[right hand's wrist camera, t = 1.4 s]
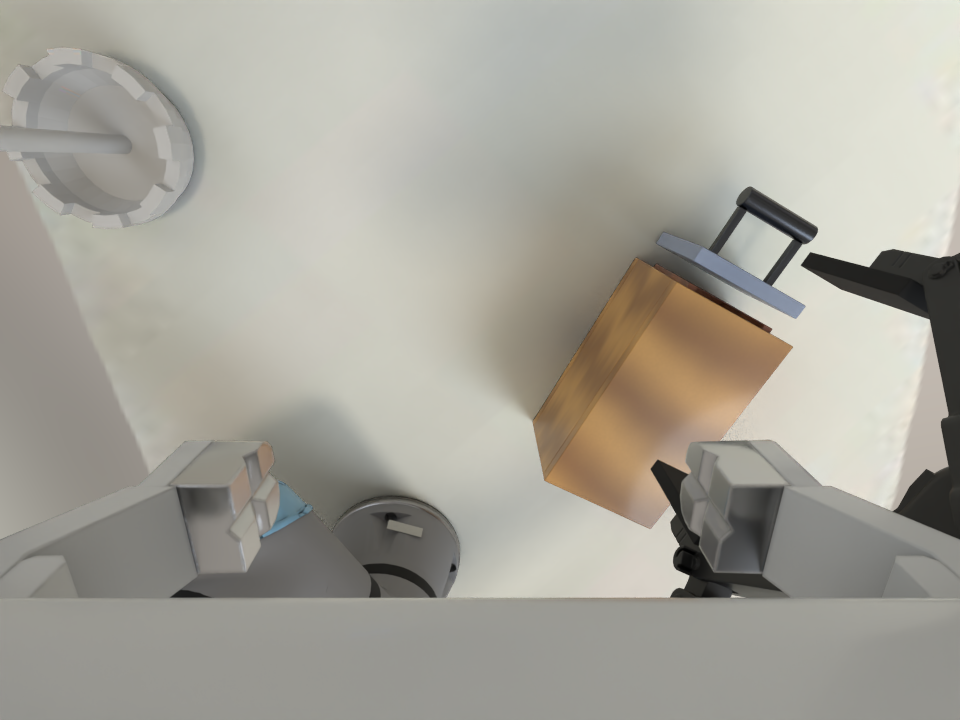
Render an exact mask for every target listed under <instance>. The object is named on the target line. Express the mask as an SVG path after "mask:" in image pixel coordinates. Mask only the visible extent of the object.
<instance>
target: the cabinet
mask: <svg viewBox="0 0 960 720" xmlns="http://www.w3.org/2000/svg"><path fill="white" fill-rule="evenodd" d="M792 348H793V346H791V345H789V344H788V343H786V342H784V341H783V340H781V339H779V338H777V337H776V336H774V335H772V334H771V333H768V332H766V331H764V330H763V329H761V328H759V327H757V326H755V325H754V324H752V323H750V322H748V321H746V320H745V319H743V318H741V317H739V316H737V315H736V314H734V313H732V312H730V311H728V310H727V309H725V308H723V307H721V306H719V305H718V304H716V303H714V302H712V301H711V300H709V299H707V298H705V297H703V296H702V295H700V294H698V293H696V292H694V291H693V290H691V289H689V288H687V287H685V286H684V285H682V284H680V283H679V282H677V281H675V280H674V279H672V278H670V277H669V276H667V275H665V274H664V273H662V272H660V271H659V270H657V269H655V268H654V267H653V266H651V265H649V264H647V263H645V262H644V261H642V260H640V259H638V258H635V259H634V261H633V262H632V264H631V266H630V267H629V269H628V270H627V272H626V274H625V275H624V277H623V278H622V280H621V282H620V283H619V285H618V286H617V288H616V290H615V291H614V293H613V294H612V296H611V298H610V299H609V301H608V302H607V304H606V306H605V307H604V309H603V310H602V312H601V313H600V315H599V317H598V318H597V320H596V321H595V323H594V325H593V326H592V328H591V329H590V331H589V333H588V334H587V336H586V337H585V339H584V341H583V342H582V344H581V345H580V347H579V349H578V350H577V352H576V353H575V355H574V357H573V358H572V360H571V361H570V363H569V364H568V366H567V368H566V369H565V371H564V372H563V374H562V376H561V377H560V379H559V380H558V382H557V384H556V385H555V387H554V388H553V390H552V392H551V393H550V395H549V396H548V398H547V400H546V401H545V403H544V404H543V406H542V408H541V409H540V411H539V412H538V414H537V415H536V417H535V419H534V420H533V426H534V431H535V436H536V441H537V446H538V451H539V456H540V461H541V466H542V471H543V476H544V480H545V481H546V482H549V483H551V484H553V485H555V486H557V487H559V488H562V489H564V490H566V491H568V492H570V493H573V494H575V495H577V496H579V497H581V498H584V499H586V500H588V501H590V502H592V503H594V504H597V505H599V506H601V507H603V508H605V509H608V510H610V511H612V512H614V513H616V514H619V515H621V516H623V517H625V518H627V519H630V520H632V521H634V522H636V523H638V524H640V525H643V526H645V527H647V528H649V529H651V528H652V527H653V525H654V524H655V523H656V522H657V520H658V519H659V518H660V517H661V515H662V514H663V513H664V511H665V510H666V509H667V508H668V506H669V505H670V502H669V500H668V499H667V497H666V495H665V494H664V492H663V490H662V488H661V487H660V485H659V483H658V481H657V480H656V478H655V476H654V475H653V473H652V471H651V467H652V466H653V465H654V463H655V462H656V461H657V459H658V460H660V461H662V462H664V463H666V464H668V465H670V466H672V467H675V468H677V469H679V470H681V471H683V472H685V473H687V474H689V473H690V472H691V470H690V469H689V467H688V465H687V464H686V462H685V459H686V453H687V449H688V447H689V445H690V443H691V442H702V441H720V440H721V439H722V437H723V436H724V435H725V433H726V432H727V431H728V430H729V428H730V427H731V426H732V424H733V423H734V422H735V421H736V419H737V418H738V417H739V416H740V414H741V413H742V412H743V410H744V409H745V408H746V407H747V405H748V404H749V403H750V401H751V400H752V399H753V398H754V396H755V395H756V394H757V393H758V391H759V390H760V389H761V387H762V386H763V385H764V384H765V382H766V381H767V380H768V378H769V377H770V376H771V375H772V373H773V372H774V371H775V370H776V368H777V367H778V366H779V364H780V363H781V362H782V361H783V359H784V358H785V357H786V355H787V354H788V353H789V352H790V350H791V349H792Z"/></svg>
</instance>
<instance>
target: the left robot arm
mask: <svg viewBox="0 0 960 720" xmlns="http://www.w3.org/2000/svg"><path fill="white" fill-rule="evenodd" d="M801 266H802V267H804V268H806V269H808V270H809V271H811V272H813V273H814V274H816V275H818V276H819V277H821V278H823V279H824V280H826V281H828V282H829V283H831V284H833V285H834V286H836V287H838V288H840V289H841V290H844V291H847V292H850V293H853V294H856V295H859V296H862V297H865V298H868V299H871V300H874V301H877V302H880V303H883V304H886V305H889V306H892V307H894V308H897V309H900V310H903V311H906V312H909V313H912V314H915V315H918V316H921V317H924V318H927V319H930V323H931V328H932V333H933V338H934V343H935V348H936V353H937V358H938V363H939V367H940V372H941V377H942V382H943V387H944V392H945V397H946V402H947V407H948V412H949V416H948V417H947V418H944V419H942V421H941V428H942V434H943V439H944V444H945V450H946V455H947V460H948V465H949V467H946V468H944V469H941V470H939V471H938V472H936V473H933V472H931V471H929V470H927V469H926V470H925V471H924V472H923V473H922V474H921V475H920V476H919V477H918V478H917V479H916V480H915V482H914V483H913V484H912V485H911V486H910V487H909V489H908V491H907V493H906V494H905V496H904V498H903V500H902V501H901V503H900V505H899V507H898V508H897V509H896V510H894V511H892V512H895V513H897V514H899V515H902V516H904V517H907V518H909V519H911V520H914V521H916V522H919V523H921V524H923V525H926V526H928V527H931V528H933V529H935V530H938V531H940V532H943V533H945V534H947V535H950V536H952V537H955V538H957V539H959V540H960V253H959V254H957V255H955V256H952V257H950V256H948V257H942V258H935V257H930V256H925V255H920V254H915V253H910V252H904V251H900V250H895V249H892V250H887V251H882V252H881V253H880V254H879V256H878V257H877V258H876V260H875V261H874V262H873V263H872V265H871V266H870V267H865V266H861V265H857V264H854V263H850V262H846V261H842V260H838V259H834V258H830V257H827V256H823V255H819V254H815V253H811V252H810V253H809V255H808V256H807V258H806V259H805V260H804V262H803V263H802V264H801ZM651 471H652V473H653V475H654V476H655V478H656V480H657V481H658V483H659V485H660V487H661V488H662V490H663V492H664V494H665V495H666V497H667V499H668V500H669V502H670V504H671V506H672V507H673V509H674V511H675V513H676V515H675V517H674V518H673V519H672V520H671V522H670V523H671V530H672V532H673V534H674V536H675V538H676V540H677V542H678V543H679V545H680V547H679V548H678V549H677V550H676V551H675V554H674V557H673V564H674V567H675V568H676V570H678V571H680V572H683V573H685V574H687V575H690V576H689V579H688V582H687V584H686V586H685V588H684V589H681V588H678V589H676V590H674V591H673V593H672V595H671V597H670V598H730V597H731V595H735V596H741V597H746V598H791V597H789V596H788V595H787V594H785V593H784V592H783V591H781V590H780V589H779V588H777V587H776V586H775V585H773V584H772V583H771V582H769V581H768V580H767V579H765V578H764V577H763V576H762V574H748V573H714V572H713V570H712V568H711V567H710V565H709V563H708V561H707V560H706V558H705V556H704V554H703V553H702V551H701V549H700V548H699V542H700V536H698V535H697V534H695V533H694V532H692V531H690V530H689V528H688V526H687V524H686V523H685V521H684V518H683V515H682V511H681V503H680V491H681V484H682V481H683V480H684V479H685V478H686V476H687V475H688V474H687V473H685V472H683V471H681V470H679V469H677V468H675V467H672V466H670V465H668V464H666V463H664V462H662V461H660V460H658V459H657V461H656V462H655V463H654V465H653V466H652V467H651ZM277 481H278V483H279V490H280V506H279V510H278V514H277V518H276V521H275V523H274V524H273V526H272V528H271V530H270V531H268V532H266V533H265V534H263V535H262V536H260V542H261V548H260V549H259V551H258V553H257V555H256V556H255V558H254V560H253V561H252V563H251V565H250V567H249V568H248V570H247V572H246V573H212V574H197V575H198V576H197V577H196V578H195V579H193V580H192V581H191V582H189V583H188V584H187V585H186V586H184V587H183V588H182V589H180V590H179V591H178V592H176V593H175V594H174V595H172V596H171V597H170V598H446V597H447V595H448V593H449V591H450V589H451V587H452V585H453V583H454V581H455V579H456V576H457V572H458V568H459V561H460V545H459V540H458V537H457V534H456V532H455V530H454V528H453V527H452V525H451V524H450V522H449V521H448V520H447V519H446V518H445V517H444V516H443V515H442V514H441V513H440V512H438V511H437V510H436V509H434V508H432V507H431V506H429V505H427V504H425V503H423V502H420V501H417V500H414V499H411V498H406V497H399V496H384V497H377V498H372V499H369V500H366V501H363V502H361V503H359V504H357V505H355V506H353V507H352V508H350V509H349V510H348V511H346V512H345V513H344V514H343V515H342V516H341V518H340V519H339V520H338V522H337V523H336V525H335V527H334V529H333V531H332V532H331V530H330V529H329V528H328V527H327V526H326V525H325V524H324V523H323V522H322V520H321V519H320V518H319V517H318V516H317V515H316V514H315V513H314V512H313V510H312V509H313V507H312V506H311V505H310V504H306V503H305V502H304V501H303V500H302V499H301V498H300V497H299V496H298V495H297V494H296V493H295V492H294V491H293V490H292V489H291V488H290V487H289V486H288V485H286V484H285V483H283V482H281V481H279V480H277Z"/></svg>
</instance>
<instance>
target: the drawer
mask: <svg viewBox="0 0 960 720" xmlns="http://www.w3.org/2000/svg"><path fill="white" fill-rule="evenodd" d="M736 204H737V206H739V207H737V208H736V210H735V211H734V213H733V214H732V216H731V217H730V219H729V220H728V222H727V223H726V225H725V226H724V228H723V229H722V231H721V232H720V234H719V235H718V237H717V238H716V240H715V241H714V243H713V244H712V246H711V247H710V249H709V250H708V249H706V248H704V247H702V246H700V245H697V244H694V243H692V242H689V241H686V240H684V239H681V238H679V237H676V236H673V235H671V234H668V233H665V232H663V233H662V235H661V236H660V238H659V239H658V241H657V243H656V244H658V245H659V246H661V247H663V248H665V249H666V250H668V251H670V252H672V253H673V254H675V255H677V256H679V257H680V258H682V259H684V260H686V261H688V262H689V263H691V264H693V265H695V266H696V267H698V268H700V269H702V270H703V271H705V272H707V273H709V274H710V275H712V276H714V277H716V278H717V279H719V280H721V281H723V282H725V283H726V284H728V285H730V286H732V287H733V288H735V289H737V290H739V291H740V292H742V293H744V294H746V295H748V296H750V297H752V298H754V299H756V300H758V301H760V302H762V303H764V304H766V305H769V306H771V307H773V308H775V309H777V310H779V311H781V312H783V313H785V314H787V315H789V316H791V317H793V318H795V319H796V318H797V317H798V316H799V314H800V313H801V312H802V310H803V309H804V308H805V305H803V304H802V303H800V302H798V301H796V300H795V299H793V298H791V297H789V296H788V295H786V294H784V293H783V292H781V291H779V290H777V289H776V288H774V287H772V285H773V284H774V282H775V281H776V279H777V278H778V277H779V275H780V274H781V273H782V271H783V270H784V269H785V267H786V266H787V264H788V263H789V262H790V260H791V259H792V258H793V256H794V255H795V254H796V252H797V251H798V249H799V248H800V247H801V245H802V244H807V243H809V242H810V241H812V240H813V239H814V237H815V236H816V234H817V232H818V228H817V227H816V226H815V225H813V224H812V223H810V222H808V221H807V220H805V219H803V218H802V217H800V216H798V215H797V214H795V213H794V212H792V211H790V210H789V209H787V208H785V207H784V206H782V205H780V204H779V203H777V202H776V201H774V200H772V199H771V198H769V197H767V196H766V195H764V194H762V193H761V192H759V191H758V190H756V189H754V188H753V187H747V188H746V189H745V190H743V191H742V193H741V194H740V195H739V197H738V199H737V201H736ZM746 212H749V213H751V214H752V215H754V216H756V217H757V218H759V219H761V220H762V221H764V222H766V223H767V224H769V225H771V226H772V227H774V228H776V229H777V230H779V231H781V232H782V233H784V234H785V235H787V236H789V237H790V238H792V239H794V240H792V242H791V243H790V244H789V246H788V247H787V248H786V250H785V251H784V253H783V254H782V255H781V257H780V258H779V259H778V261H777V262H776V264H775V265H774V266H773V268H772V269H771V270H770V272H769V273H768V275H767V276H766V277H765V279H764V280H763V281H762V280H760V279H758V278H757V277H755V276H753V275H751V274H750V273H748V272H746V271H744V270H743V269H741V268H739V267H737V266H736V265H734V264H732V263H730V262H729V261H727V260H725V259H724V258H722V257H720V256H718V255H717V254H718V253H719V251H720V250H721V248H722V247H723V245H724V244H725V242H726V241H727V239H728V238H729V236H730V235H731V234H732V232H733V231H734V229H735V228H736V226H737V225H738V223H739V222H740V220H741V219H742V217H743V216H744V214H745V213H746ZM654 268H655V269H657V270H659V271H660V272H662V273H664V274H665V275H667V276H669V277H670V278H672V279H674V280H675V281H677V282H679V283H680V284H682V285H684V286H685V287H687V288H689V289H691V290H693V291H694V292H696V293H698V294H700V295H702V296H703V297H705V298H707V299H709V300H711V301H712V302H714V303H716V304H718V305H719V306H721V307H723V308H725V309H727V310H728V311H730V312H732V313H734V314H736V315H737V316H739V317H741V318H743V319H745V320H746V321H748V322H750V323H752V324H754V325H755V326H757V327H759V328H761V329H763V330H764V331H766V332H768V333H770V332H771V330H772V328H770V327H768V326H766V325H765V324H763V323H761V322H759V321H758V320H756V319H754V318H752V317H751V316H749V315H747V314H745V313H744V312H742V311H740V310H738V309H736V308H735V307H733V306H731V305H729V304H728V303H726V302H724V301H722V300H721V299H719V298H717V297H715V296H713V295H712V294H710V293H708V292H706V291H704V290H703V289H701V288H699V287H697V286H696V285H694V284H692V283H690V282H688V281H687V280H685V279H683V278H681V277H679V276H678V275H676V274H674V273H672V272H671V271H669V270H667V269H665V268H663V267H662V266H660V265H658V264H655V266H654Z"/></svg>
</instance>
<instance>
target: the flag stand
mask: <svg viewBox="0 0 960 720" xmlns="http://www.w3.org/2000/svg"><path fill="white" fill-rule="evenodd" d="M46 50H47V52H48V54H49V56H47V57H44V58H42V59H41V60H40V61H38V62H37V63H35V64H34V65H33V66H31V67H30V66H25V65H20V64H18V65H17V67H16V68H15V69H14V70H13V72H12V73H11V74H10V75H9V77H8V79H7V81H6V84H5V86H4V88H3V90H2V91H3V92H4V93H6V94H7V95H9V96H11V97H12V98H14V100H13V105H12V126H1V125H0V151H7V154H8V157H9V159H10V161H23V163H24V165H25V167H26V168H27V170H28V172H29V174H30V175H31V177H32V178H33V179H34V181H35V182H36V183H37V185H38V187H37V188H36V189H35V190H34V191H32V193H33V194H34V195H35V196H36V197H38V198H39V199H40V200H41V201H42V202H43V203H44V204H45V205H46V206H48V207H49V208H51V209H52V210H54V211H55V212H57V213H58V214H59V215H66V214H72V215H74V216H76V217H78V218H80V219H82V220H85V221H87V222H90V223H92V227H93V228H103V229H113V228H123V227H129V226H134V225H140V224H143V223H146V222H149V221H152V220H154V219H156V218H158V217H159V216H161V215H162V214H164V213H165V212H166V211H167V210H168V209H169V208H170V207H171V206H172V205H173V204H174V203H175V202H176V200H177V198H178V197H179V196H180V195H181V194H182V193H183V192H184V190H185V189H186V187H187V185H188V183H189V181H190V178H191V175H192V172H193V164H194V152H193V144H192V140H191V137H190V133H189V130H188V128H187V126H186V124H185V122H184V120H183V118H182V116H181V115H180V113H179V112H178V110H177V109H176V108H175V106H174V105H173V104H172V103H171V102H170V101H169V100H168V99H167V98H166V97H165V96H164V95H163V94H162V93H161V92H160V91H159V90H158V89H157V88H156V87H155V85H154V84H153V83H152V82H151V81H150V80H148V79H147V78H146V77H145V76H143V75H142V74H141V73H139V72H138V71H137V70H136V69H134V68H132V67H130V66H128V65H126V64H125V63H123V62H121V61H119V60H116V59H113V58H110V57H106V56H103V55H100V54H96V53H93V52H89V51H86V50H82V49H76V48H67V47H60V48H51V49H46Z"/></svg>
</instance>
